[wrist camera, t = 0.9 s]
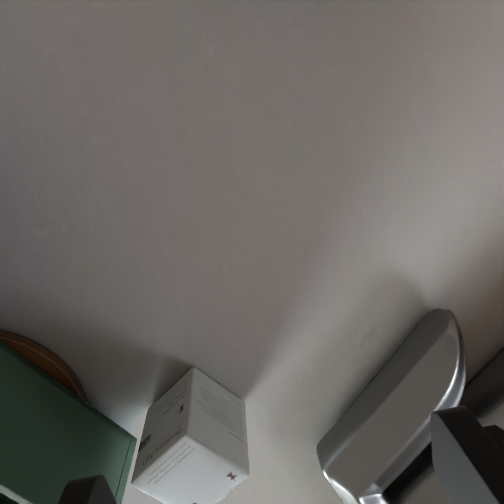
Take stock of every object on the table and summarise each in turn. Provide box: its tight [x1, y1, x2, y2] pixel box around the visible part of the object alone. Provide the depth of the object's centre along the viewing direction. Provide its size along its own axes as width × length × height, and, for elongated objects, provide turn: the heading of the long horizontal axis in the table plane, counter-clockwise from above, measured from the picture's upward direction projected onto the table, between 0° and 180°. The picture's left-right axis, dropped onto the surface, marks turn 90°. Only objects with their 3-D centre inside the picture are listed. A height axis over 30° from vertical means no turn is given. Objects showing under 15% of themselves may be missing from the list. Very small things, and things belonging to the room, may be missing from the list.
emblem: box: [317, 309, 504, 504], centre depth 36 cm, size 28×5×28 cm
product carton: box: [131, 367, 249, 504], centre depth 32 cm, size 6×6×7 cm
